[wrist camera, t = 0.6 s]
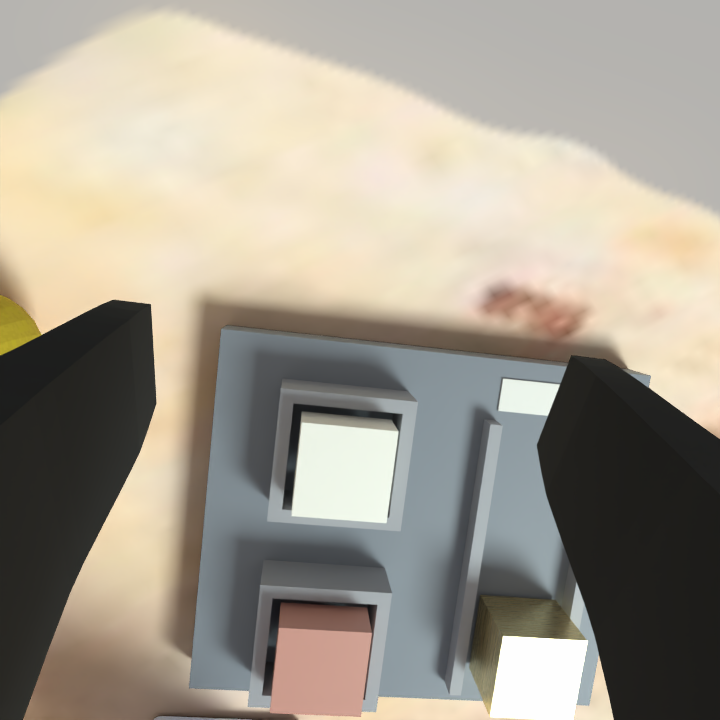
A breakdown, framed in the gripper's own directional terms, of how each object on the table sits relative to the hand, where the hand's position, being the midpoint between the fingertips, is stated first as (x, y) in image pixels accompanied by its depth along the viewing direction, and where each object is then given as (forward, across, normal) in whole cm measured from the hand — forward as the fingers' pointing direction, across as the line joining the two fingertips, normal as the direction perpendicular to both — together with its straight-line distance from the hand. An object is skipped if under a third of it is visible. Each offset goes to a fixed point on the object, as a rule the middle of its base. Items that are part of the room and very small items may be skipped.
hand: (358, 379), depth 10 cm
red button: (+8, -1, +20) cm, 22 cm away
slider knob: (+10, -11, +21) cm, 26 cm away
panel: (+14, -5, +18) cm, 23 cm away
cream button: (+12, -1, +12) cm, 17 cm away
